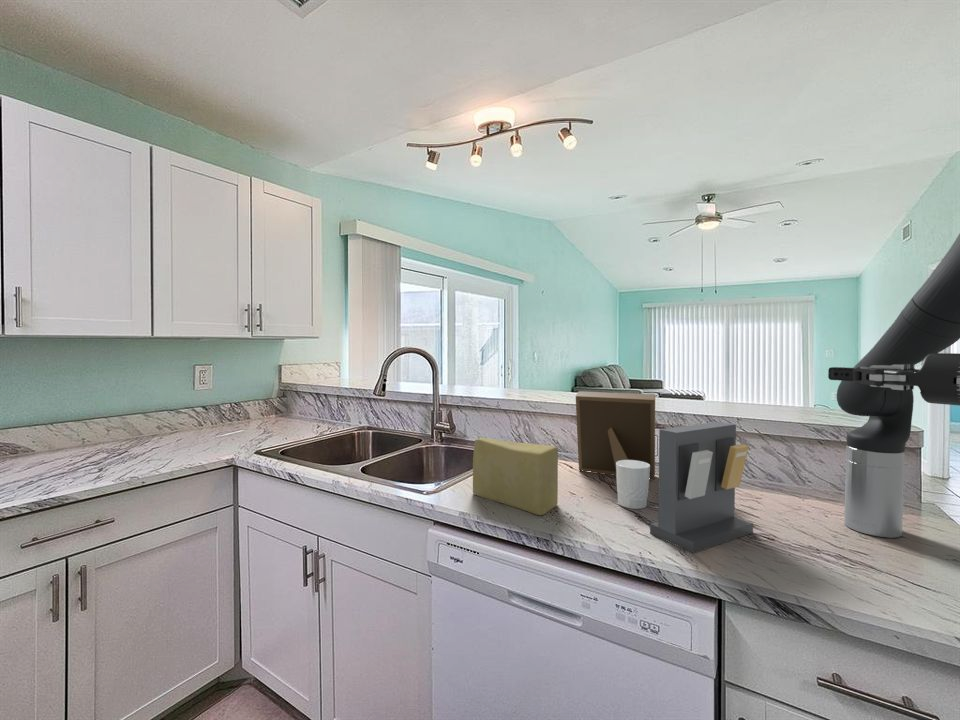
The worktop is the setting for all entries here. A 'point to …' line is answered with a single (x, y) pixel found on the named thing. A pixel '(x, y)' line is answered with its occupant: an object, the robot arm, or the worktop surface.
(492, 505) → the worktop surface
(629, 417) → the photo frame
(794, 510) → the worktop surface
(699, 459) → the grey rocker
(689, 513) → the power panel
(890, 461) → the robot arm
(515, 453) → the cheese
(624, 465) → the white cup
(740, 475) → the amber rocker
